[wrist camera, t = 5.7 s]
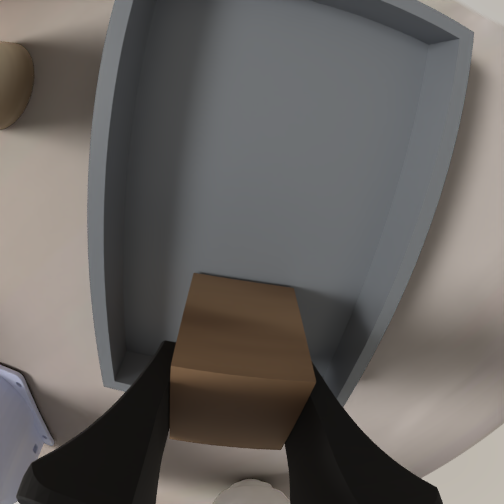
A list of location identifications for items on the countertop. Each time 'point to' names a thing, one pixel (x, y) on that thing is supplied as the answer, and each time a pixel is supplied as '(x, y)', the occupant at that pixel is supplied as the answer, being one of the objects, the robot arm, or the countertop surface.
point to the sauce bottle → (251, 494)
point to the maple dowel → (14, 82)
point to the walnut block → (239, 365)
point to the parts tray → (268, 164)
